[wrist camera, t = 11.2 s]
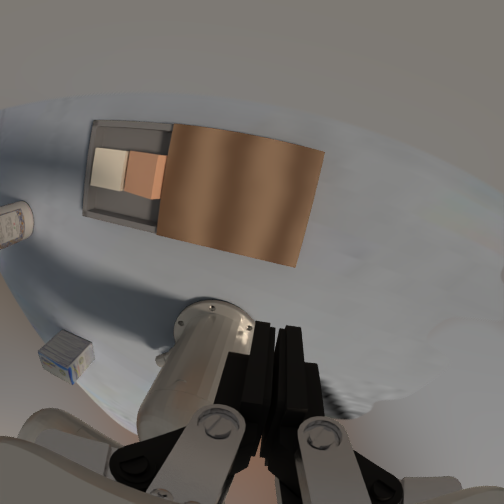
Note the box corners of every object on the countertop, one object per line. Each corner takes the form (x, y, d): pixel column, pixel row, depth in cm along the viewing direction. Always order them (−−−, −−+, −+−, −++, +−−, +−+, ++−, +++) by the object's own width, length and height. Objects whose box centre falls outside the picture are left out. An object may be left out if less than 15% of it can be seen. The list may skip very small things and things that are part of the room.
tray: (181, 127, 30) (174, 124, 28) (164, 229, 34) (156, 233, 32) (104, 121, 30) (93, 120, 28) (92, 212, 34) (82, 215, 32)
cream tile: (95, 147, 29) (104, 147, 31) (90, 185, 31) (98, 183, 32) (126, 151, 29) (134, 151, 31) (119, 191, 30) (127, 189, 32)
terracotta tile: (170, 156, 29) (158, 155, 27) (162, 198, 30) (150, 199, 29) (141, 151, 31) (130, 150, 29) (135, 190, 32) (124, 191, 30)
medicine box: (66, 345, 44) (42, 368, 36) (62, 328, 42) (36, 351, 34) (95, 359, 44) (72, 386, 35) (92, 341, 42) (67, 369, 34)
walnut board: (320, 153, 29) (324, 152, 26) (294, 259, 33) (295, 267, 31) (183, 126, 30) (174, 123, 27) (166, 228, 34) (156, 234, 31)
